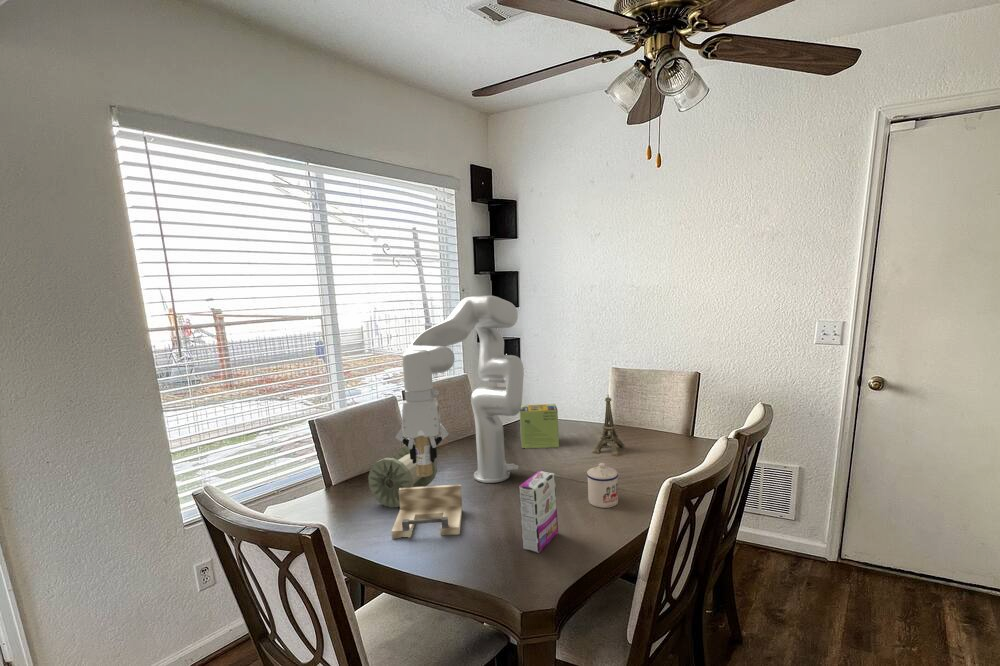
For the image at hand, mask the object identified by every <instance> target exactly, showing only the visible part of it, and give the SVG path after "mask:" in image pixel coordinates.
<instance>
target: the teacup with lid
mask: <svg viewBox="0 0 1000 666" xmlns="http://www.w3.org/2000/svg"><path fill="white" fill-rule="evenodd" d="M586 476H587V494H588V495H587V497H588V498H587V499H588V503H589V504H590V505H592V506H593V507H596V508H601V509H609V508H612V507H615V506H616V505H618V503H619V488H618V485H619V474H618V472H617V469H614V468H612V467H609V466H607V465H606V463H604V462H599V463H598V465H597V466H595V467H594V466H593V467H591V468H589V469H588V470H587V471H586Z"/></svg>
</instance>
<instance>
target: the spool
mask: <svg viewBox="0 0 1000 666" xmlns="http://www.w3.org/2000/svg"><path fill="white" fill-rule="evenodd" d="M414 444H415V442H414ZM369 470H370V471H369V473H368V477H367V479H368V487H369V489H370V492H371V494H372V496H373V497H374V499H376V501H377V502H378V503H380V504H382V505H383V506H385V507H386V506H389V507H388V508H393V507H396V508H398V507H399V508H400V501H399V488H409V487H425V486H430V484H431V483H432V482H433V481H434V480H435V478H436V475H437V473H438V472H437V471H438V465H437V460H436V459H435V460H434V462H432V471H433V473H432V474H431V475H429V476H426V477H420V476H417V474H416V473H417V467H416V463H414V464H413V460H411V459H410V449H408V447H407V446H406V445H405V444H403V445H402V446H401V448H400V449H398V450H397V452H396V456H395V458H394V457H385V458H382V459H380V460H377V461H376V462H375V463H374V464H373V465H372V467H370V469H369ZM396 508H395V509H396Z"/></svg>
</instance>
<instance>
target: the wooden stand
mask: <svg viewBox="0 0 1000 666" xmlns="http://www.w3.org/2000/svg"><path fill="white" fill-rule="evenodd" d="M462 498H463V497H462V484H447V485H446V484H444V485H427V486H425V487H409V488H399V501H400V506H399V511H398V514H397V516H396V519H395V521H394V524H393V526H392V529H391V531H390V532H391V539H402V538H401V537H408V538H411V537H412V535H413V532H412V531H414V529H413V528H415V526H416V524H417V525H420V524H433V523H435V524H437V523H438V524H439V523H441V525H440V528H439V529H440V536H452V535H454V536H455V535H460V533H461V525H462V518H463V517H462V516H463V502H462V501H463V499H462Z"/></svg>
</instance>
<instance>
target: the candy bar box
mask: <svg viewBox="0 0 1000 666" xmlns="http://www.w3.org/2000/svg"><path fill="white" fill-rule="evenodd" d="M556 488H557V487H556V473H554V472H549V471H543V470H538V471H537V472H536V473H534V474H533V475H532V476H530V477H529V478H528V479H527V480H525V481H524V482H523V483H521V484H520V485H519V486H518V493H519V504H520V506H519V509H520V520H521V521H520V522H521V524H520V525H521V536H522V540H521V541H522V549H523V550H526V551H530V552H534V553H538V554H539V553H541V552H542V551H543V550H544V549H545V548H546V547H547V546H548V544H549V543H551V541H552V540H553V539H554V538H555V537H556V536H557V535H558V534H559V525H558V524H559V523H558V507H557V492H556V491H557V490H556Z"/></svg>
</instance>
